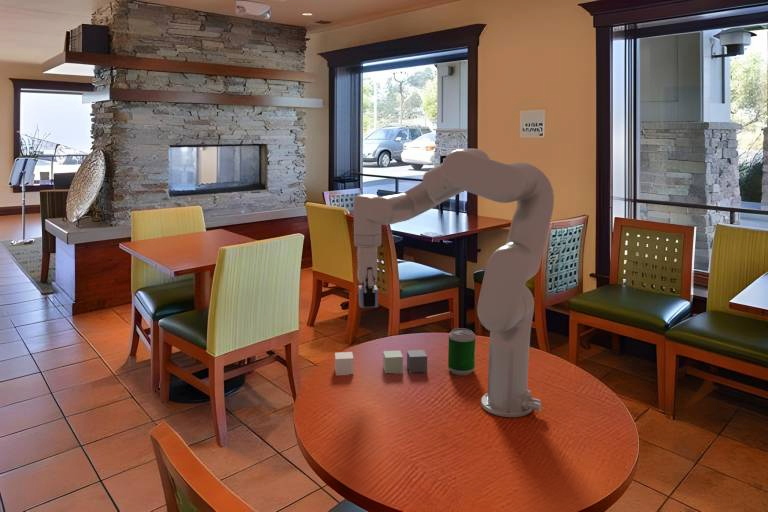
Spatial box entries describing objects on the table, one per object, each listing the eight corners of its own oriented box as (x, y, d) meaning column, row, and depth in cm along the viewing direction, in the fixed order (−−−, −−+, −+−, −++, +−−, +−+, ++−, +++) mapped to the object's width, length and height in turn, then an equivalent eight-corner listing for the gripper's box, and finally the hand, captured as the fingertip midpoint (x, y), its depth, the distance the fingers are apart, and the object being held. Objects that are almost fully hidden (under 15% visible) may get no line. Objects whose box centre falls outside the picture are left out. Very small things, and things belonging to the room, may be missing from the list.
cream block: (352, 367, 165) (352, 351, 164) (353, 374, 160) (353, 358, 159) (335, 368, 165) (334, 352, 164) (335, 375, 160) (335, 359, 159)
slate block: (376, 301, 162) (375, 284, 161) (378, 306, 157) (377, 289, 156) (358, 302, 161) (358, 285, 160) (360, 307, 156) (359, 290, 155)
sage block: (399, 366, 166) (400, 350, 165) (402, 373, 161) (402, 356, 160) (383, 367, 166) (383, 351, 165) (385, 374, 161) (385, 357, 160)
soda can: (473, 377, 158) (475, 336, 156) (446, 375, 160) (447, 335, 157) (474, 367, 165) (476, 328, 163) (449, 365, 167) (450, 326, 164)
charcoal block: (423, 365, 167) (423, 349, 166) (427, 372, 162) (427, 356, 161) (406, 366, 166) (407, 350, 165) (409, 373, 161) (409, 357, 160)
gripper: (351, 235, 163) (352, 295, 167) (356, 245, 146) (357, 313, 150) (377, 234, 164) (378, 295, 168) (385, 245, 147) (385, 312, 151)
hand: (368, 302), depth 159 cm, fingers closed on slate block, 4 cm apart
